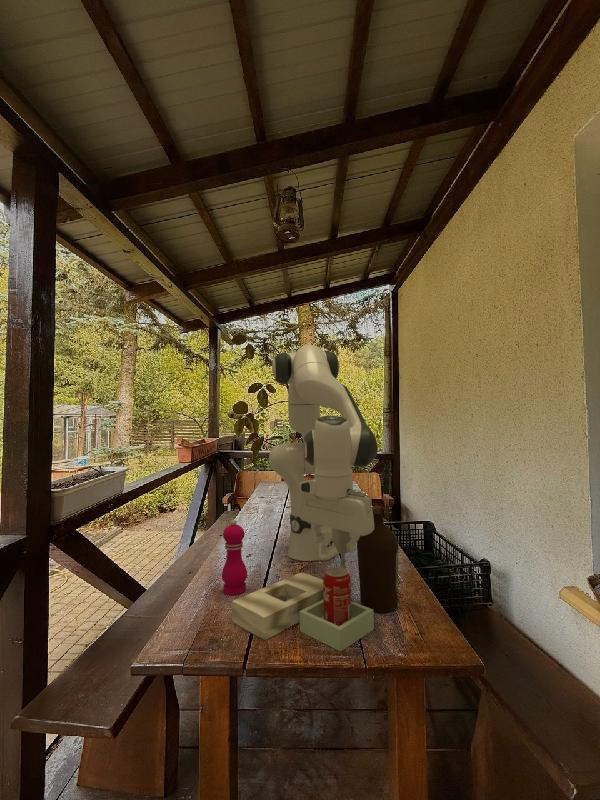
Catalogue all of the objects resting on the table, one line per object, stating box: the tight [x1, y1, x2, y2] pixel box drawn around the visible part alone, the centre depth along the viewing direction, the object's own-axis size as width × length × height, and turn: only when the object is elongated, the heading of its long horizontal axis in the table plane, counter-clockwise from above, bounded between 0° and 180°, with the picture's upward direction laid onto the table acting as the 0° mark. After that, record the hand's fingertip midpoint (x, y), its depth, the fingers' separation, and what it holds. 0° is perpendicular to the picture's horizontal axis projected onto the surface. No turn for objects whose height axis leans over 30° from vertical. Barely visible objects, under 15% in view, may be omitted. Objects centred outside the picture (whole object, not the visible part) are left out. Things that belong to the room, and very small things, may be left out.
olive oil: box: [356, 505, 399, 614], centre depth 109 cm, size 11×11×25 cm
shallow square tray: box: [299, 599, 375, 652], centre depth 97 cm, size 12×12×4 cm
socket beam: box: [231, 572, 324, 641], centre depth 106 cm, size 24×12×5 cm, turn 135°
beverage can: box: [322, 566, 352, 626], centre depth 97 cm, size 6×6×12 cm
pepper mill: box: [221, 519, 248, 596], centre depth 119 cm, size 7×7×20 cm
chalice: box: [332, 528, 353, 587], centre depth 122 cm, size 7×7×18 cm
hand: (335, 546), depth 97 cm, fingers open, 8 cm apart
